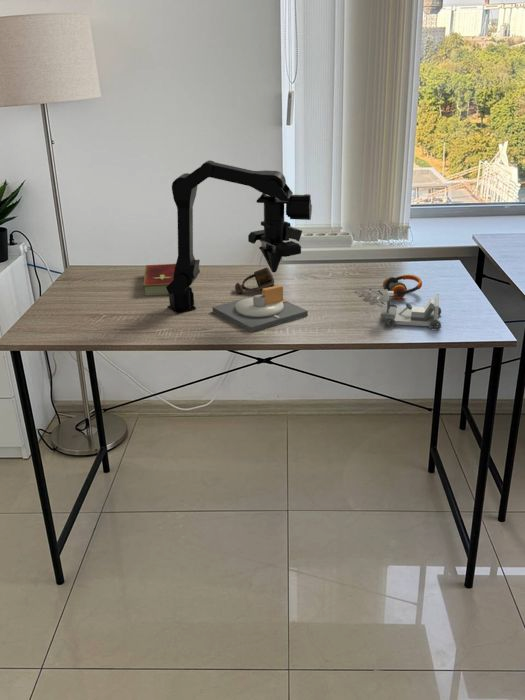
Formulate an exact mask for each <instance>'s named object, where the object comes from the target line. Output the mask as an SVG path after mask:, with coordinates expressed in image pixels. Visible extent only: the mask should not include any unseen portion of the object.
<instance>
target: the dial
mask: <svg viewBox="0 0 525 700" xmlns="http://www.w3.org/2000/svg"><path fill="white" fill-rule="evenodd" d="M261 294H262V295H259V294H255V295H252V296H253V297H252V296H250V297H251V298H248V297H245V298H246V299H244V298H242V299H243V300H241V299H239V300H240V301H239V302H237V303H236V311H237V312H238V313H239V314H241V315H244V316H249V317H267V316H272V315H276V314H278V313H280V312H281V311H282V310H283V308H284V307H283V302H282V301H283V300H284V287H283V285H281V284H279V285H274V286H273V287H268V288H263V289H262V291H261Z"/></svg>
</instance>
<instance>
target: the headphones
mask: <svg viewBox="0 0 525 700" xmlns="http://www.w3.org/2000/svg"><path fill="white" fill-rule="evenodd" d="M400 280H409V281H410V280H411V281H415V282H417V284H416V285H415V287H413V288H409V289H408V288H407V286H406V285H405V283H403V282H401V281H400ZM399 281H400V282H399ZM422 287H423V281H422V279H421V278H420V277H419V276H418V275H414V274H403V275H400V276H397V277H394V276H389V277H386V278H385V279H384V280H383V282H382V285H381V286H380V287H379V289H378V290H379V291H380V290H381V288H383V291H384V290H386V289H387V290H388V291H394V295H393V296H391V298H393V299H395V298H396V299H397V300H400V299H403V298H404V297H405V296H406V295H407V294H411V293H413V292H416V291H418V290H420V289H421V288H422ZM364 288H366V289H368V290H369V291H371V292H368V293H366V291H363V292H362V293H361V291H357V290H359V289H364ZM378 290H372V288H369V287H367V286H361V287H358V288H356V289H355V290H354V293H356V294H358V293H360V294H359V295H357V297H358V298H359V297H363V296H364V298H363V299H362V300H363V301H364V302H368V301H369V302H370V305H375V304H378V303H380V304H382V305H383V306H385V305H386V304H385V303H384V302H383V301H378V300H377V297H378V296H376V297H372V294H373V293H374V294H377V295H380V293H379V292H378ZM380 292H381V291H380ZM373 302H374V303H373Z"/></svg>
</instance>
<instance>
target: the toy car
mask: <svg viewBox="0 0 525 700" xmlns="http://www.w3.org/2000/svg"><path fill="white" fill-rule="evenodd" d="M377 291H378V292H377V293H380V294H378V296H376V297H377V301H379V302H383V303H384V302H385V303H386V302H387V303H386V305H387V306H385V305H382V308H381V311H380V318H385V319H384V322H383V324H384V326H385V327H386V328H395V325H405V326H419V327H429V328H430V330H432V329H437V330H436V331H439V330H440V329H441V328H442V322H441V321H440V320H439V316H440V315H441V313H442V309H441V307H440V293H435V298H432V297H430V299H429V300H428V302H427V304H426V305H425V306H412V305H411V304H410V303H409V302H407V303H405V308H403V307H398V306H397V304H395V303H391V297H392V296H393V295H394V291H388V290H387V289H386V290H384V289H383V291H379V289H378V290H377ZM438 315H439V316H438Z"/></svg>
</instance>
